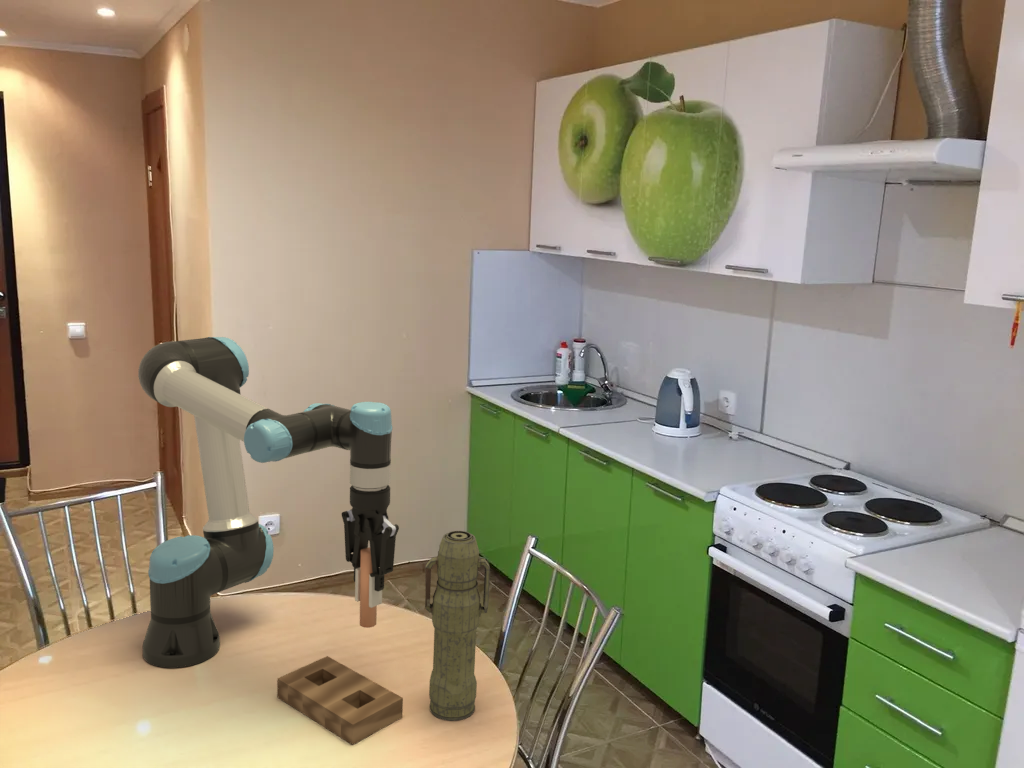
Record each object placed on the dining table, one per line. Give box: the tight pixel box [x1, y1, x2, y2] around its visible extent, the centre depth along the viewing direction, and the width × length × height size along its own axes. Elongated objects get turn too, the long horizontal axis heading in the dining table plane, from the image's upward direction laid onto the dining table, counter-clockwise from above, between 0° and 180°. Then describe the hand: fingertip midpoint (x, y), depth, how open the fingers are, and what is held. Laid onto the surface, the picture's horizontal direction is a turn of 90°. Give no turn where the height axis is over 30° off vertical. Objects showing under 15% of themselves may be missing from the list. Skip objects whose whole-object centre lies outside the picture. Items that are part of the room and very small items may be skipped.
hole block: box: [276, 655, 404, 746], centre depth 166 cm, size 22×12×4 cm, turn 51°
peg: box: [359, 546, 378, 629], centre depth 168 cm, size 3×3×15 cm
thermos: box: [424, 530, 491, 722], centre depth 165 cm, size 9×12×35 cm
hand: (368, 601), depth 169 cm, fingers closed on peg, 3 cm apart
